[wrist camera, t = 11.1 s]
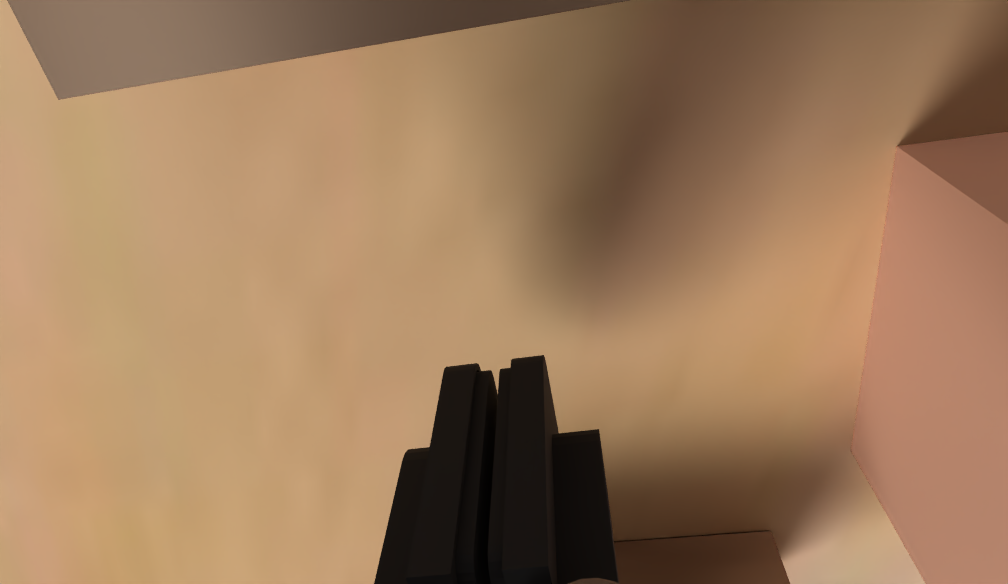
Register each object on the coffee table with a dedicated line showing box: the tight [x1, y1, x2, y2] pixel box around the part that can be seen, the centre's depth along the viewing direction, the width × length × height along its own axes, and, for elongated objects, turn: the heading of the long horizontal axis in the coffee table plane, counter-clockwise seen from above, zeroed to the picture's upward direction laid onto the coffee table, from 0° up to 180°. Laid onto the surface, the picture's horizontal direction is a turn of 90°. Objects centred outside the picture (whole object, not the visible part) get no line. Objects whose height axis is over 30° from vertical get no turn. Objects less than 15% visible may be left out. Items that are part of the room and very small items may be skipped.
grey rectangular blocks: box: [7, 0, 790, 584], centre depth 11 cm, size 9×16×4 cm, turn 10°
